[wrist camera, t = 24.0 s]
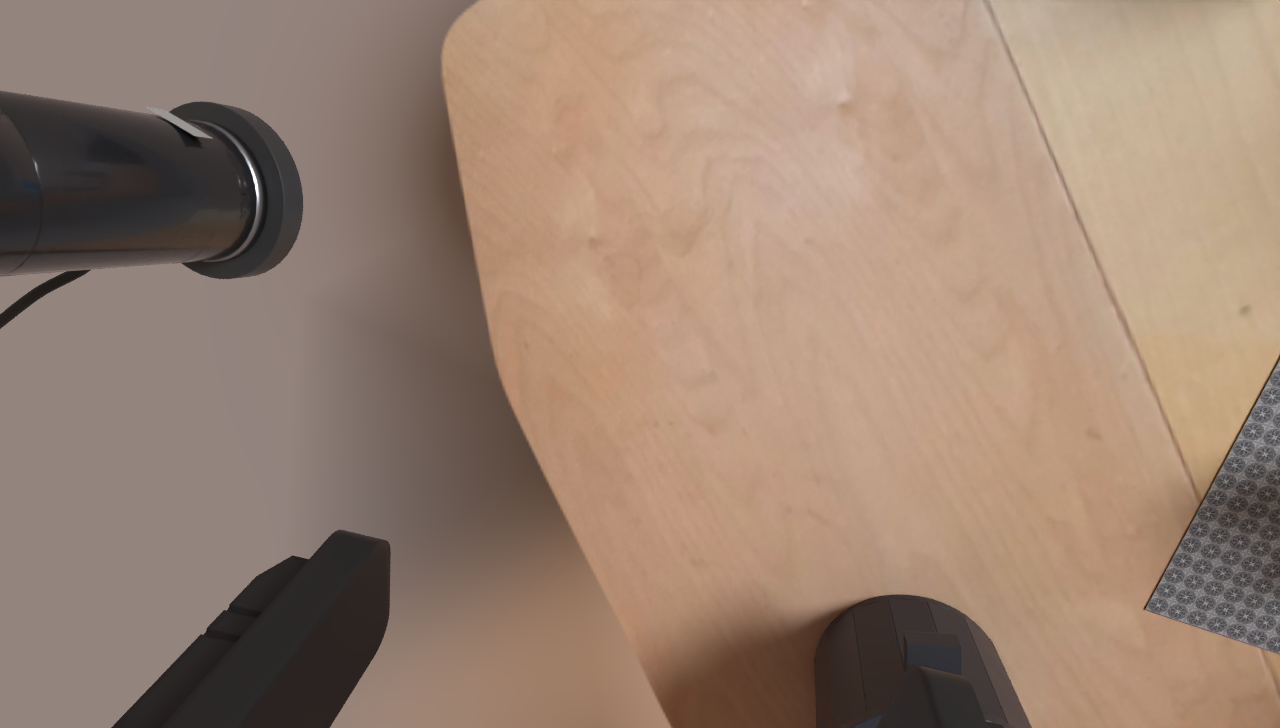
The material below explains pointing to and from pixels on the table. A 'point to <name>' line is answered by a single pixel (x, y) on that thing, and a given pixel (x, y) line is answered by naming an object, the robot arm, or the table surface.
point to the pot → (905, 658)
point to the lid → (868, 721)
